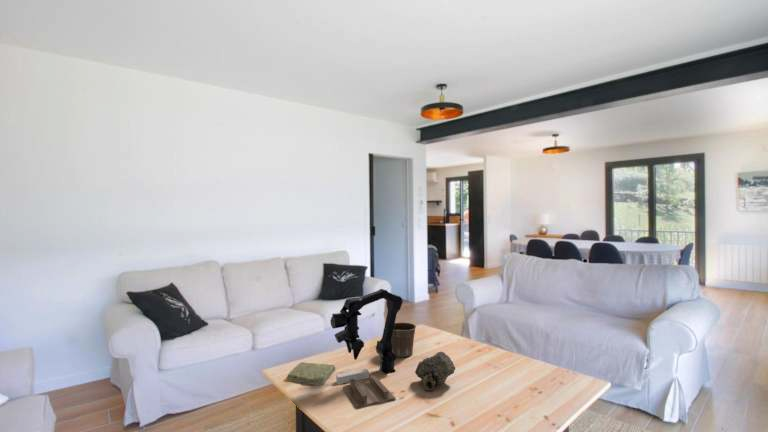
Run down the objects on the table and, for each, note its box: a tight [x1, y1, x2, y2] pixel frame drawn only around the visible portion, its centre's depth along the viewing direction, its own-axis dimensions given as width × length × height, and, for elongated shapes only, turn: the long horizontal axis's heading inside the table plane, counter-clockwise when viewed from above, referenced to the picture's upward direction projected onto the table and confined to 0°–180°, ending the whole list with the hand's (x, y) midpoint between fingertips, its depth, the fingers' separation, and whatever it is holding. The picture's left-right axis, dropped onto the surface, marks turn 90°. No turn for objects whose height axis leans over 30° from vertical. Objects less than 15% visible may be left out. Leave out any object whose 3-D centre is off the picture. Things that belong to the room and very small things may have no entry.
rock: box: [414, 351, 456, 392], centre depth 185 cm, size 18×14×15 cm
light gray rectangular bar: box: [335, 368, 370, 385], centre depth 192 cm, size 16×3×4 cm, turn 116°
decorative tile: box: [286, 361, 336, 386], centre depth 197 cm, size 19×20×4 cm
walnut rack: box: [342, 374, 397, 409], centre depth 177 cm, size 18×20×4 cm
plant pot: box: [391, 322, 417, 358], centre depth 225 cm, size 16×16×16 cm
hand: (352, 356), depth 192 cm, fingers open, 9 cm apart
